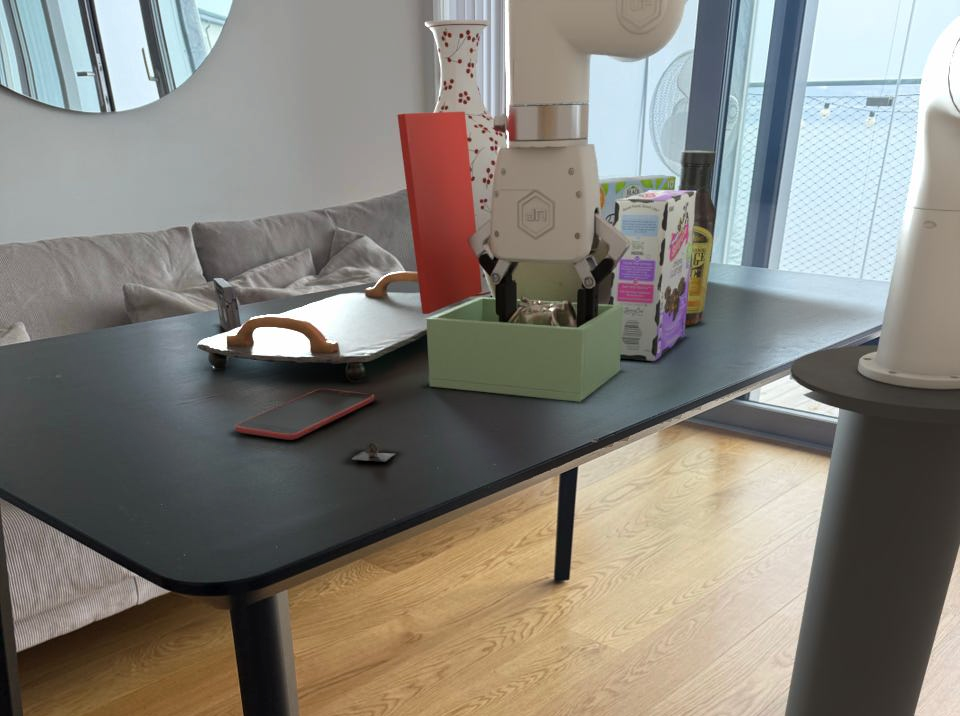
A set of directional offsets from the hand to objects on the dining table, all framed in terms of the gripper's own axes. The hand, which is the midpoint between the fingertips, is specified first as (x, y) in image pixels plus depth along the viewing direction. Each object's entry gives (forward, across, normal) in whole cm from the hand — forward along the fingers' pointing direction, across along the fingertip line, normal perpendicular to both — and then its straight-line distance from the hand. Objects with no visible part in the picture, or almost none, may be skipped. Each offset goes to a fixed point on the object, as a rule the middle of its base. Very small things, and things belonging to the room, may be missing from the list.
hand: (545, 324), depth 92 cm
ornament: (+1, 0, 0) cm, 1 cm away
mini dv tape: (+6, -49, +10) cm, 51 cm away
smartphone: (+6, -16, -20) cm, 26 cm away
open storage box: (+6, -2, 0) cm, 6 cm away
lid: (-10, -11, 0) cm, 15 cm away
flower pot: (+6, -7, +20) cm, 22 cm away
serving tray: (+6, -28, +8) cm, 30 cm away
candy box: (+6, +6, +18) cm, 20 cm away
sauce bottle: (+6, +6, +33) cm, 34 cm away
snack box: (+6, -12, +62) cm, 63 cm away
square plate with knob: (+6, -4, -28) cm, 29 cm away
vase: (+6, -30, +43) cm, 53 cm away
